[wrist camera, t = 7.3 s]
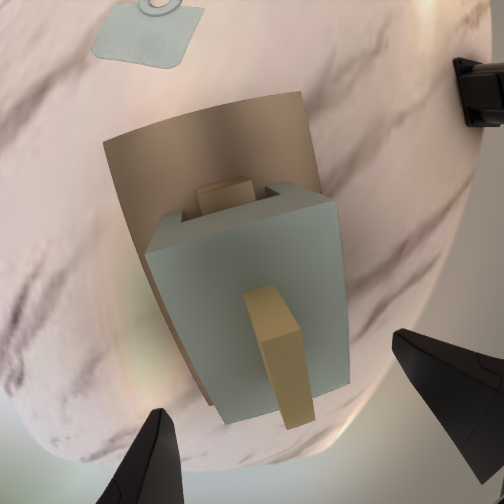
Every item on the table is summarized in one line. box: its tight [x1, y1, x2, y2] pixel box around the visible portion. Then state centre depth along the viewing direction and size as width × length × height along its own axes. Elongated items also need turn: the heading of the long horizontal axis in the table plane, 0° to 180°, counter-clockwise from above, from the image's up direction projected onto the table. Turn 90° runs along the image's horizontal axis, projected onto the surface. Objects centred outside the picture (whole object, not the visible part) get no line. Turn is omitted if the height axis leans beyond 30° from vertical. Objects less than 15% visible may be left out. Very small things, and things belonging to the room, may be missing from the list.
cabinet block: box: [144, 181, 350, 430], centre depth 13 cm, size 7×10×9 cm
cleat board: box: [103, 91, 322, 406], centre depth 17 cm, size 11×20×4 cm, turn 13°
